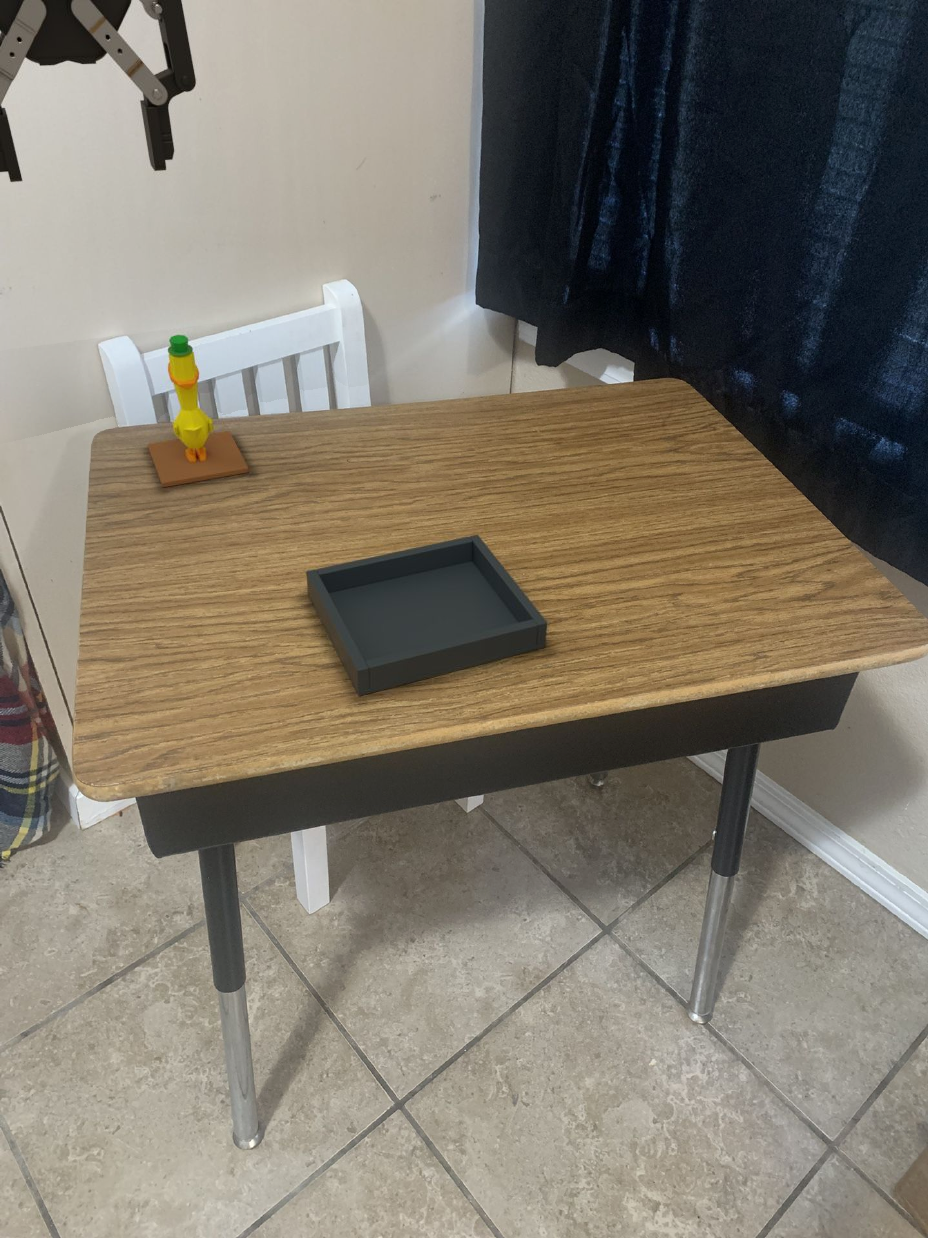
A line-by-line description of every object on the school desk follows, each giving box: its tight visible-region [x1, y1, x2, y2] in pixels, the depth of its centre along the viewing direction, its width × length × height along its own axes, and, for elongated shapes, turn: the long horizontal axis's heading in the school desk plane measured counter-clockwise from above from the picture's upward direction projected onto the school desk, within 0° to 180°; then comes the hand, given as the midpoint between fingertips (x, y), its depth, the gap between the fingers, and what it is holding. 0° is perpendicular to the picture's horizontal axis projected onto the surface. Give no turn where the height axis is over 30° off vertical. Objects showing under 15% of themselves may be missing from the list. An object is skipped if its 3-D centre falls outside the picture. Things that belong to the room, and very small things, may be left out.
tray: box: [305, 534, 548, 697], centre depth 74 cm, size 15×13×2 cm
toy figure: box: [167, 334, 214, 462], centre depth 90 cm, size 7×4×12 cm, turn 20°
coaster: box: [147, 430, 250, 488], centre depth 93 cm, size 8×8×1 cm
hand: (88, 173), depth 61 cm, fingers open, 8 cm apart
